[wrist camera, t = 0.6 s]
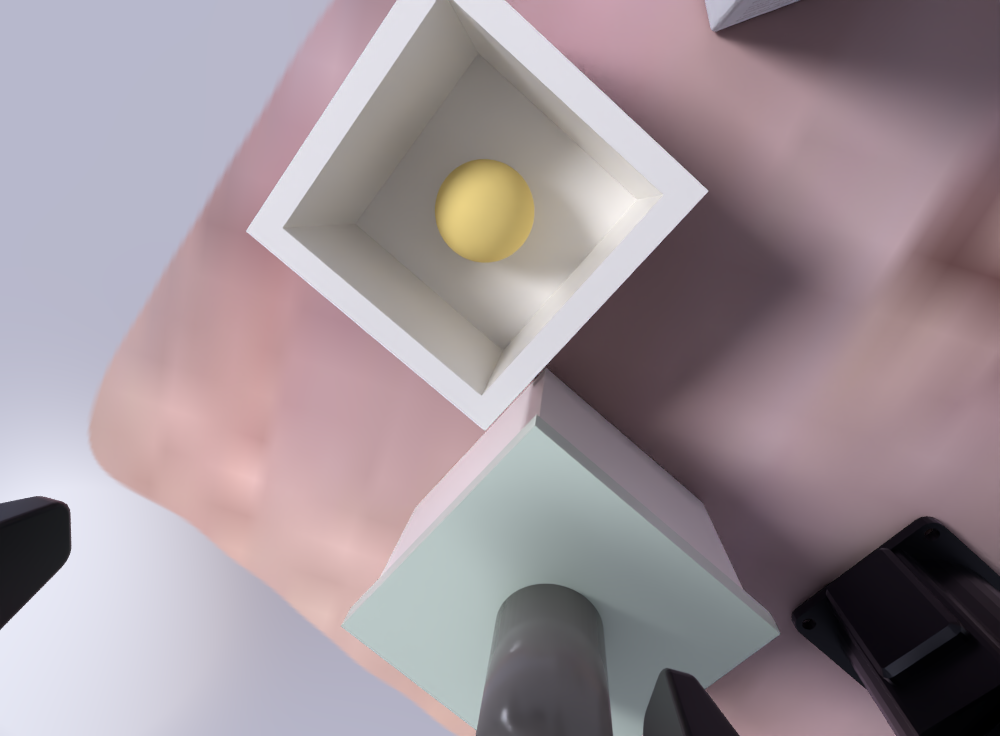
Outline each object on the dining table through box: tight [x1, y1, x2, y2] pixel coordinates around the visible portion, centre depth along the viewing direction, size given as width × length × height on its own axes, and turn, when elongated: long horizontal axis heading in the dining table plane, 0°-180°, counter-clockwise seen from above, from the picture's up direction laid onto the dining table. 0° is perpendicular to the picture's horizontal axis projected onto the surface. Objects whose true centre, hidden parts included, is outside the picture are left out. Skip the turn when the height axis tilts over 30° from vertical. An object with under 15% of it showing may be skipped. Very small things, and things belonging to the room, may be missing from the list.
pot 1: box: [246, 0, 708, 431], centre depth 16 cm, size 8×8×6 cm
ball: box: [435, 159, 534, 263], centre depth 17 cm, size 3×3×3 cm
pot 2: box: [380, 368, 743, 589], centre depth 19 cm, size 8×8×6 cm
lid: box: [341, 414, 781, 736], centre depth 14 cm, size 9×9×5 cm
